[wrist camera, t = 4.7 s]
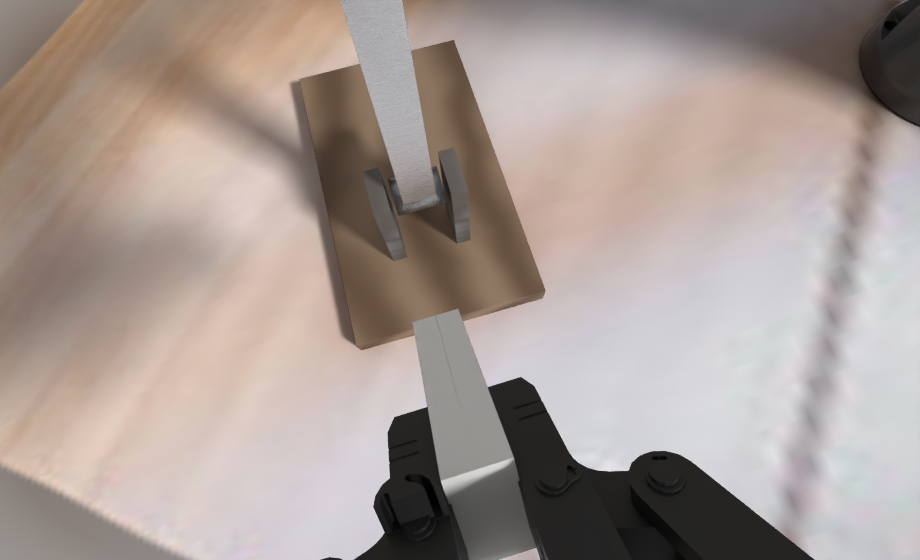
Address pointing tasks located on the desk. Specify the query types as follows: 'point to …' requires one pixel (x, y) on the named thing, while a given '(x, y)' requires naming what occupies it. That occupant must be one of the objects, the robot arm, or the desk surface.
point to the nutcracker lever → (395, 100)
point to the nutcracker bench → (425, 231)
